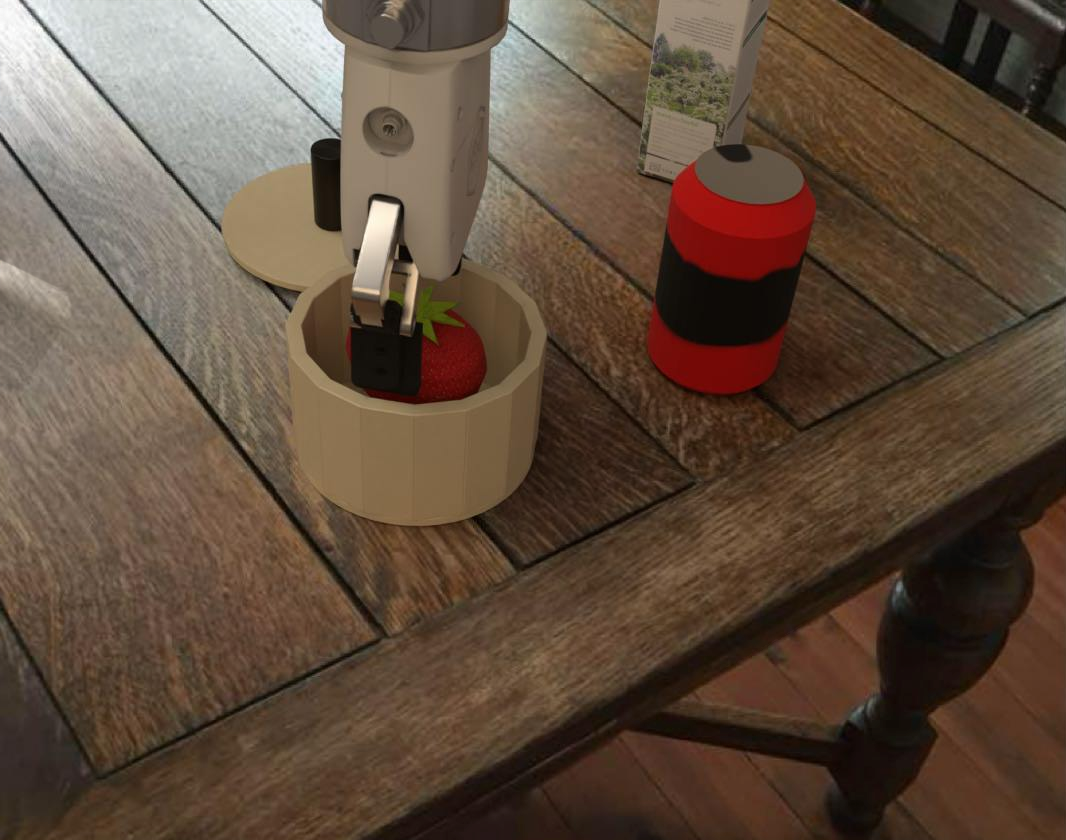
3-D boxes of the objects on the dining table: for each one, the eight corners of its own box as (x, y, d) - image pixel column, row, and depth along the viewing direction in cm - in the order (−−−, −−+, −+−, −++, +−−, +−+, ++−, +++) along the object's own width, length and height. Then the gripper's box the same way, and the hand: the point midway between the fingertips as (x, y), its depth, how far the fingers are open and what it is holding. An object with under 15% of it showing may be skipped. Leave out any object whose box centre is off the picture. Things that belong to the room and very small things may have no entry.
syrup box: (740, 158, 94) (783, -52, 83) (712, 199, 90) (752, -15, 79) (663, 135, 95) (696, -74, 85) (632, 175, 91) (662, -39, 81)
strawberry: (443, 494, 69) (448, 338, 62) (323, 436, 71) (314, 278, 64) (505, 430, 72) (517, 276, 65) (389, 376, 75) (388, 221, 67)
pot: (266, 504, 68) (253, 390, 63) (331, 349, 77) (325, 237, 71) (513, 544, 67) (522, 433, 62) (551, 383, 76) (562, 273, 71)
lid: (192, 283, 80) (179, 193, 76) (260, 162, 89) (252, 76, 85) (418, 318, 79) (419, 229, 75) (463, 192, 89) (466, 107, 84)
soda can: (744, 307, 82) (784, 128, 73) (797, 387, 77) (847, 205, 69) (627, 324, 80) (654, 142, 72) (674, 407, 75) (709, 222, 67)
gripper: (467, 107, 48) (448, 457, 61) (542, -89, 60) (514, 239, 72) (260, 74, 48) (284, 429, 61) (376, -115, 60) (376, 216, 73)
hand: (409, 325), depth 67 cm, fingers open, 9 cm apart
